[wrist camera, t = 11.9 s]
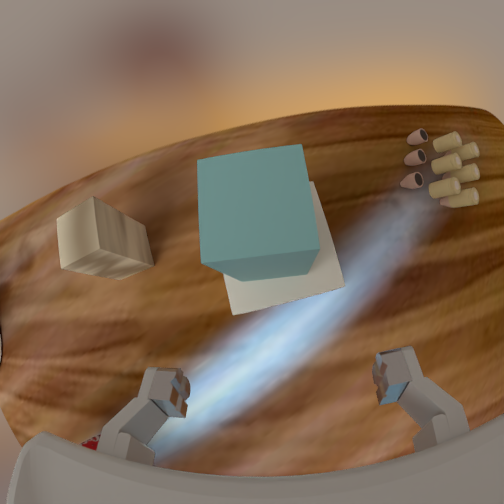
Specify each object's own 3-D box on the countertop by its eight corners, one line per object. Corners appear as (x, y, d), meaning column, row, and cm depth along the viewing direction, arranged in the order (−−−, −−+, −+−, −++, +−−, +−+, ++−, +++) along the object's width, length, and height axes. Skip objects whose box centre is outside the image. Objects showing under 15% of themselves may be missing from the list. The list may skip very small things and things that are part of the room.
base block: (246, 312, 25) (232, 315, 19) (227, 229, 27) (209, 208, 21) (332, 290, 24) (345, 285, 18) (308, 207, 26) (313, 180, 20)
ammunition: (482, 144, 20) (420, 111, 21) (482, 205, 19) (414, 170, 20) (462, 163, 24) (406, 135, 26) (458, 219, 23) (397, 190, 25)
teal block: (242, 281, 19) (201, 263, 11) (236, 219, 20) (197, 160, 11) (307, 274, 19) (320, 248, 10) (298, 211, 20) (301, 144, 11)
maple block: (119, 280, 27) (61, 268, 18) (112, 241, 28) (56, 219, 19) (154, 266, 27) (99, 248, 18) (145, 225, 28) (93, 196, 19)
